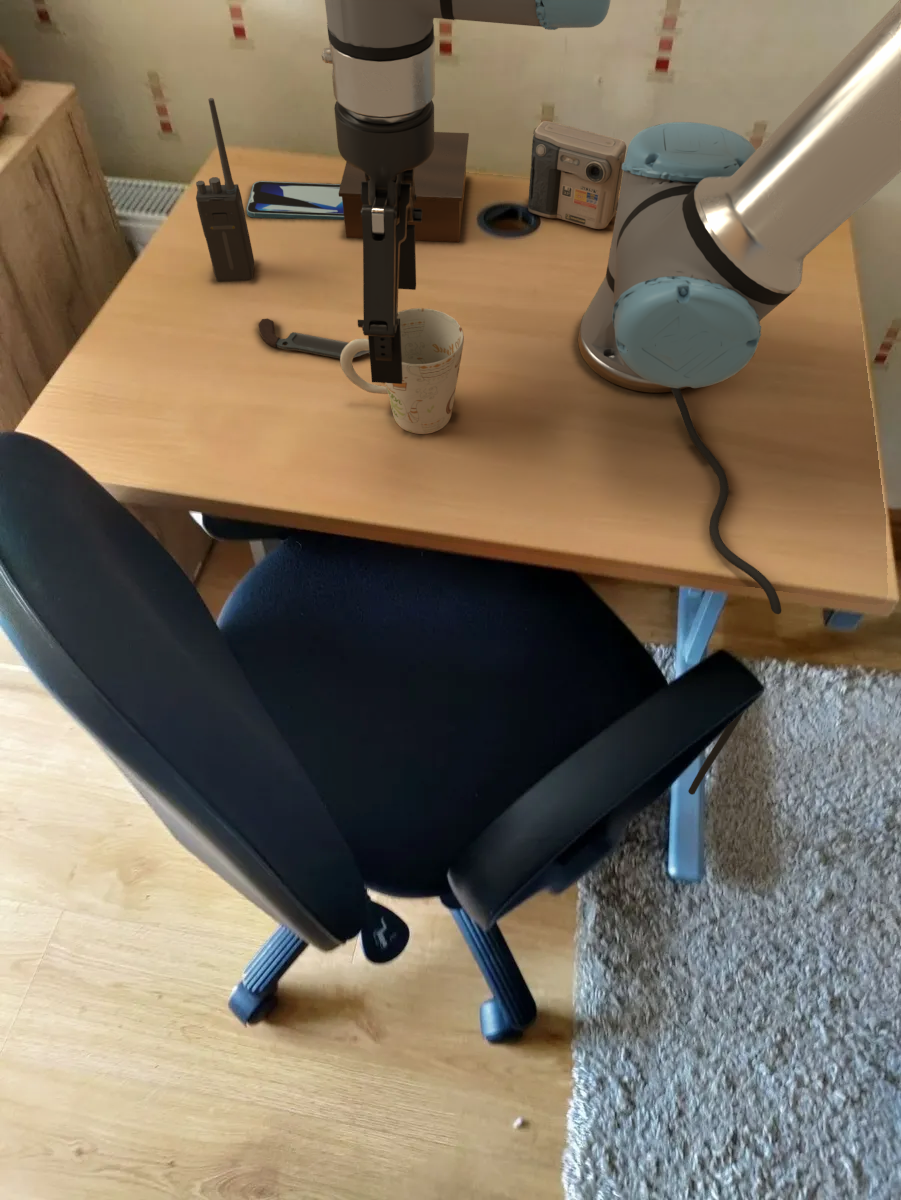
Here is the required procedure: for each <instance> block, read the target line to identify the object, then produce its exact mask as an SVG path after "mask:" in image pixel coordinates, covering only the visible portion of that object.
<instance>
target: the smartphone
mask: <svg viewBox="0 0 901 1200" xmlns="http://www.w3.org/2000/svg"><path fill="white" fill-rule="evenodd" d="M340 185H341V183H321V182H320V183H319V182H299V181H298V182H297V181H296V182H295V181H272V180H258V181H255V182H254V183H253V184H252V186H251V189H250V194H249V197H248V201H247V205H246V214H247V216H248V217H249V218H251V219H252V218H253V219H279V220H281V219H283V220H285V219H286V220H288V219H289V220H334V221H335V220H337V221H338V220H339V221H341V220H342V221H344V211H343V202H342V197H339V189H340Z"/></svg>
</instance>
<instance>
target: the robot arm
mask: <svg viewBox="0 0 901 1200" xmlns="http://www.w3.org/2000/svg"><path fill="white" fill-rule="evenodd" d="M324 5H325V13H326V24H327V25H326V28H327V37H328V43H329V44H328V46H329V47H324V48H323V50H322V53H321V59H322V61H323V63H325V64H332V70H331V78H332V79H331V80H332V89H333V97H334V99H335V100H336V101H335V104H334V119H335V120H334V121H335V131H336V141H337V142H336V143H337V148H338V153H339V154H340V156H341V157H342V159H343V160H344V161H345V163H346V162H348V163H349V164H350V165H352V166H354V167H356V168H358V169H360V170H362V171H363V172H365V180H366V181H362V182H361V201H362V203H363V205H362V210H361V217H362V227H363V238H362V270H363V271H362V272H363V273H362V276H363V278H362V279H363V280H362V283H363V284H362V285H363V286H362V295H363V297H362V299H363V301H362V302H363V307H362V308H363V319H357V328H359V329H360V328H361V329H362V334H363V336H364V337H365V336H366V337H367V339H369V352H370V353H369V363H370V365H369V366H370V375H371V376H370V378H371V383H379V384H385V383H395V384H402V379H403V377H402V353H401V329H400V319H398V318H397V315H398V312H399V311H398V310H399V290H410V291H412V290H413V291H416V288H417V266H416V265H417V263H416V259H417V258H416V256H417V255H416V240H415V225H409V222H422V208H414V206H413V204H415V201H416V200H417V194H416V192H415V182H414V168H416V167H418V166H420V165H421V164H423V163H424V162H425V161H426V160H427V159H428V158H429V157H430V155H431V154H432V152H433V149H434V132H435V104H434V102H433V98H434V96H435V92H436V91H435V90H436V37H435V26H434V25H435V24H434V19H441V20H449V21H450V20H452V21H455V20H456V21H457V20H458V21H468V22H481V23H494V24H504V25H517V26H528V27H540V28H544V29H545V30H548V31H556V30H558V29H571V28H572V29H576V28H577V29H579V28H582V29H583V28H584V29H585V28H587V29H588V28H589V29H590V28H594V27H596V26H598V25H600V24H601V23H602V22H604V20H605V19H606V17H607V15H608V13H609V10H610V6H611V0H324ZM622 170H623V173H622V179H621V186H620V191H619V198H618V200H619V201H618V207H617V211H616V213H615V220H614V225H613V231H612V236H611V241H610V248H609V254H608V259H607V267H606V272H605V276H604V279H603V280H602V281H601V283H600V285H599V287H598V289H597V290H596V292H595V293H594V296H593V297H592V300H591V301H590V303H589V304H588V306H587V308H586V310H585V312H584V313H583V315H582V318H581V321H580V324H579V325H580V326H579V332H578V341H577V342H578V348H579V349H578V350H579V352H580V355H581V357H582V359H583V360H584V362H585V363H586V364H587V366H588V367H589V368H590V369H591V370H592V371H593V372H594V373H595V374H597V375H598V376H600V377H601V378H603V379H604V380H606V381H608V382H609V383H612V384H614V385H616V386H618V387H621V388H625V389H628V390H632V391H637V392H641V393H642V392H643V393H670V392H671V393H672V396H673V397H674V400H675V402H676V405H677V407H678V410H679V413H680V416H681V419H682V422H683V424H684V428H685V429H686V432H687V434H688V436H689V439H690V440H691V442H692V443H693V445H694V447H695V448H696V449H697V451H698V452H699V454H701V455H702V457H703V458H704V459H705V460H706V462H707V463H708V465H710V467H711V468H712V470H713V471H714V473H715V475H716V477H717V480H718V483H719V493H718V494H719V495H718V498H717V501H716V503H715V506H714V509H713V511H712V514H711V516H710V521H709V534H710V538H711V541H712V542H713V545H714V547H715V549H716V550H717V552H718V553H719V554H720V555H721V556H722V557H723V558H724V559H726V561H728V562H729V563H731V565H733V566H735V567H736V568H737V569H739V570H740V571H742V572H743V573H745V574H746V575H747V576H748V577H750V578H751V579H753V581H755V582H756V583H757V584H758V585H759V586H760V587H761V588H762V590H763V592H764V593H765V595H766V597H767V600H768V601H769V605H770V609H771V611H772V612H773V613H774V614H775V615H781V613H782V605H781V600H780V598H779V596H778V594H777V593H778V592H777V590H776V589H775V587H774V586H773V584H772V583H771V581H770V580H769V579H768V578H767V577H766V575H764V574H763V573H762V572H760V570H759V569H757V568H755V567H754V566H753V565H751V564H750V563H748V562H747V561H746V560H744V559H742V558H741V557H739V556H738V555H737V554H735V553H734V552H733V551H731V549H730V548H729V547H728V546H727V545H726V544H725V543H724V541H723V538H722V537H721V534H720V520H721V518H722V514H723V512H724V509H725V507H726V505H727V502H728V498H729V494H730V491H729V490H730V486H729V485H730V484H729V480H728V477H727V473H726V471H725V469H724V468H723V466H722V464H721V463H720V461H719V460H718V458H716V456H715V455H714V453H712V451H711V450H710V448H709V447H707V446H706V444H705V443H704V442H703V440H702V438H701V437H700V435H699V433H698V432H697V431H698V430H697V429H696V428H695V425H694V423H693V420H692V417H691V414H690V412H689V408H688V406H687V403H686V401H685V399H684V396H683V393H682V391H681V390H683V389H687V388H692V389H699V388H704V387H709V386H713V385H716V384H718V383H722V382H724V381H726V380H728V379H729V378H732V377H733V376H735V375H736V374H737V373H739V372H740V371H741V370H742V369H744V368H745V367H746V366H747V365H748V364H749V362H750V361H751V360H752V358H753V357H754V355H755V353H756V350H757V348H758V344H759V341H760V338H761V336H762V332H761V331H762V325H761V323H760V322H761V321H762V320H764V318H765V317H766V316H768V315H769V314H770V313H771V312H772V311H773V310H775V308H776V307H778V306H779V305H781V304H782V302H784V301H785V300H786V299H787V298H789V296H791V295H792V294H793V293H794V292H796V290H797V289H799V287H800V285H801V284H802V280H803V279H802V278H803V269H804V260H805V258H806V257H807V255H809V254H810V253H811V252H812V251H813V250H814V249H816V247H818V246H819V245H820V244H821V243H822V242H823V241H825V239H827V238H828V237H829V236H830V235H831V234H832V233H833V232H834V231H836V229H838V228H839V227H841V226H842V225H843V224H844V223H845V222H846V221H847V220H848V219H849V218H850V217H852V216H853V215H854V214H855V213H856V212H857V211H859V209H860V208H862V207H863V206H865V205H866V203H867V202H869V201H870V200H871V199H872V198H873V197H874V196H875V195H876V194H878V193H879V192H880V191H881V190H882V189H883V188H884V187H886V186H887V185H888V184H889V183H890V182H891V181H892V180H894V179H895V178H896V177H897V176H898V175H899V174H900V173H901V0H898V1H897V2H896V3H895V4H894V5H893V6H892V7H891V8H890V9H889V10H888V12H887V13H885V15H884V16H883V17H882V18H881V19H880V20H879V21H878V22H877V23H876V24H875V26H873V27H872V28H871V29H870V30H869V31H868V33H866V35H864V36H863V38H862V39H861V40H860V41H859V42H858V43H857V44H856V45H855V46H854V47H853V48H852V49H851V50H850V51H849V52H848V53H847V54H846V56H845V57H843V59H842V60H840V61H839V63H838V64H837V65H836V66H835V67H834V68H833V69H832V70H831V71H830V72H829V73H828V74H827V75H826V76H825V78H823V80H822V81H821V82H820V83H818V85H817V86H816V87H815V88H814V89H813V90H812V91H811V92H810V93H809V94H808V95H807V96H806V98H804V100H803V101H802V102H801V103H800V104H798V106H797V107H796V108H795V109H794V110H793V111H792V112H791V113H790V114H789V115H788V116H787V117H786V118H785V119H784V121H782V123H781V124H780V125H779V126H778V127H777V128H776V129H775V130H774V131H773V132H772V133H771V134H770V135H769V136H768V137H767V138H766V139H765V140H764V142H762V143H761V145H760V146H758V148H756V149H755V146H754V145H753V143H751V142H750V140H748V139H747V138H745V137H744V136H742V135H741V134H739V133H737V132H735V131H732V130H729V129H727V128H724V127H721V126H717V125H713V124H708V123H701V122H694V121H693V122H692V121H673V122H664V123H660V124H656V125H652V126H649V127H646V128H643V129H642V130H641V131H639V132H637V133H636V134H635V135H634V136H633V137H632V138H631V140H630V142H629V144H628V147H627V149H626V153H625V160H624V163H623V164H622ZM744 713H745V711H744V712H743V713H742V714H741V715H739V716H738V717H737V718H736V719H735V720H734V721H733V722H731V723H730V724H729V725H728V724H727V725H728V726H727V725H726V726H727V727H726V726H725V728H724V729H723V732H722V733H721V735H720V736H719V738H718V740H717V741H716V743H715V744H714V746H713V748H712V749H711V751H710V752H709V754H708V755H707V757H706V759H705V760H704V762H703V764H702V765H701V767H700V768H699V770H698V772H697V774H696V775H695V777H694V779H693V781H692V783H691V785H690V786H689V787H688V790H687V791H688V792H687V793H688V794H689V795H695V794H696V792H697V791H698V788H699V787H700V785H701V783H702V781H704V778H705V776H706V774H707V773H708V771H709V770H710V768H711V767H712V765H713V764H714V762H715V761H716V759H717V757H718V756H719V754H720V752H721V751H722V750H723V748H724V747H725V745H726V744H727V742H728V740H729V739H730V738H731V736H732V734H733V732H734V731H735V729H736V728H737V726H738V724H739V722H740V720H741V718H742V717H743V715H744Z"/></svg>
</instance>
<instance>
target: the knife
mask: <svg viewBox="0 0 901 1200" xmlns="http://www.w3.org/2000/svg"><path fill="white" fill-rule="evenodd" d="M258 330H259V331H258V332H259V333H260V335H261V337H262V340H263V342H265V343H266V344H267V345H269V346H271V347H274V348H279V349H282V350H287V351H299V352H304V353H308V354H309V353H311V354H315V355H319V356H320V355H321V356H325V357H329V358H330V357H331V358H334V359H340V357H341V353H342V351H343V349H344V348H345V346H346V345H347V344H348V343H349V342H348V341H343V340H337V339H332V338H327V337H322V336H316V335H311V334H307V333H306V334H305V333H300V332H293V331H292V332H290V333H289V335H288V337H286V338H280V337H279V336H277V335H276V334H275V322H274V321H273V320H272V319H270V318H262V319H260V322H258ZM368 354H370V352H369V351H368V350H363V351H359V352H358V353H357V354H356V355H355V356H354V358H353V359H355V358H359V357H362V356H364V355H368Z"/></svg>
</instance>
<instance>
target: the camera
mask: <svg viewBox="0 0 901 1200" xmlns="http://www.w3.org/2000/svg"><path fill="white" fill-rule="evenodd" d="M626 154H627V144H626V142H625V141H624V140H623V139H620V138H617V137H616V138H615V137H612V136H608V135H605V134H601V133H597V132H592V131H589V130H584V129H580V128H577V127H574V126H570V125H565V124H562V123H558V122H555V121H550V120H543V121H541V122H540V124H539V125H538V126H536V127H535V129H534V130H533V136H532V143H531V156H530V157H531V158H530V159H531V160H530V161H531V162H530V172H529V173H530V174H529V186H528V202H527V206H528V207H527V209H528V212H529V213H530V214H533V215H536V216H540V217H543V218H546V219H560V220H563V221H566V222H570V223H573V224H577V225H579V226H583V227H586V228H587V227H588V228H591V229H593V230H604V229H605V228H607V227H608V225H609V224H610V222H611V221H612V220H613V218H614V217H615V216H616V213H617V207H618V201H619V195H620V189H621V183H622V177H623V170H622V164H623V163H624V162H625V158H626Z"/></svg>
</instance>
